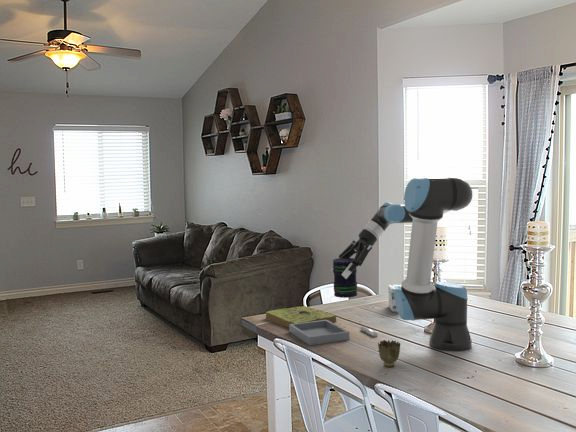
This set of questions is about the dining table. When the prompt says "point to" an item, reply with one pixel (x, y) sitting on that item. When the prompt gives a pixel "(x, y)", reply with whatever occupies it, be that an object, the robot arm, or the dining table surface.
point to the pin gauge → (368, 331)
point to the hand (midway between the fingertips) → (338, 274)
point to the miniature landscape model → (298, 315)
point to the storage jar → (342, 285)
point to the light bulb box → (392, 296)
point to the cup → (389, 352)
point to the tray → (318, 332)
